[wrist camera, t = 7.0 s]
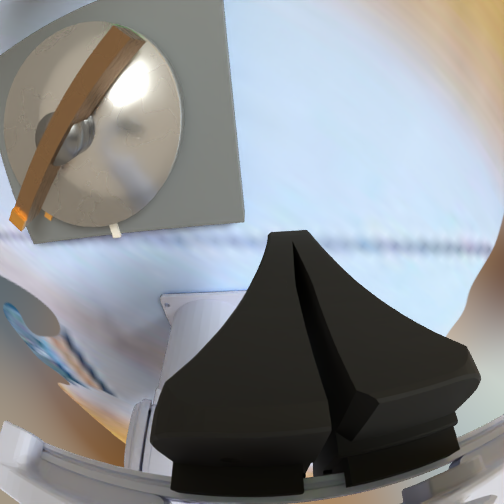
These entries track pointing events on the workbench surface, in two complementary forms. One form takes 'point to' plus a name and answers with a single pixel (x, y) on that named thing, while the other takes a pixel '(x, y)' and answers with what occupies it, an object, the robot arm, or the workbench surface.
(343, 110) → the workbench surface
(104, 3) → the stand plate
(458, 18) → the workbench surface
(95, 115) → the dial
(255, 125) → the workbench surface
